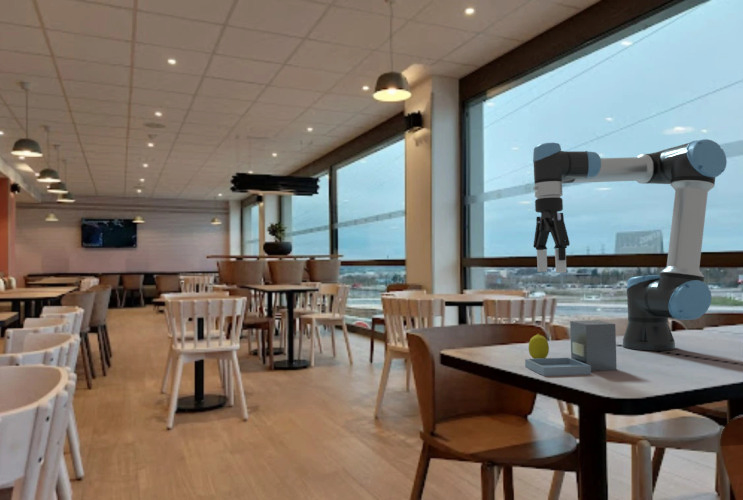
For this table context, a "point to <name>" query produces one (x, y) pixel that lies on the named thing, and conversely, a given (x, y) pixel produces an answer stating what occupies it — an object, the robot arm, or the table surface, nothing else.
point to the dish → (557, 366)
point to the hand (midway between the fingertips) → (551, 272)
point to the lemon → (538, 347)
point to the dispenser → (594, 344)
